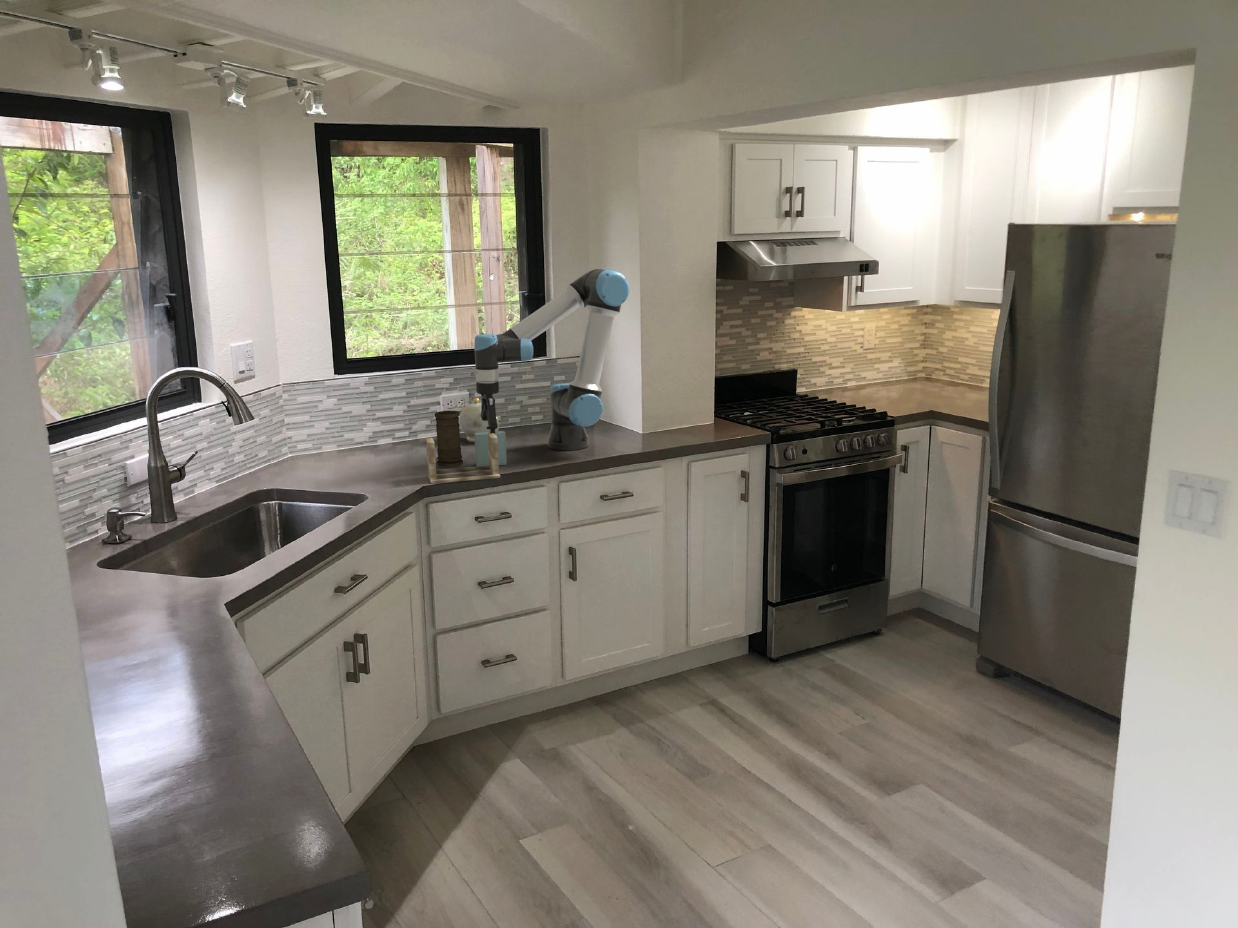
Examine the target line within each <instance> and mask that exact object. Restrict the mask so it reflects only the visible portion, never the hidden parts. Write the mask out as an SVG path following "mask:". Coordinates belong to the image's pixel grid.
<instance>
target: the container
mask: <svg viewBox="0 0 1238 928" xmlns="http://www.w3.org/2000/svg"><path fill="white" fill-rule="evenodd" d="M460 414H461V412H460V411H457V410H440V411H437V412H435V413H434V417H435V428H436V430H435V431H436V443H437V449H436V451H437V457H436V466H438V468H439V467H440V468H459V467H461V466H462V465H464V460H463V458H464V457H463V456H462V455H463V454H462V447H461V433H460V424H459V417H460Z"/></svg>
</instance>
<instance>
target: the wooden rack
mask: <svg viewBox="0 0 1238 928" xmlns="http://www.w3.org/2000/svg"><path fill="white" fill-rule="evenodd" d="M435 444H436V443H435V441H434V438H433V437H426V438H425V446H426V460H427V461H426V462H427V463H426V464H427V477H428V479H429V482H430V484H442V483H454V482H456V483H457V482H466V481H478V480H488V479H489V480H490V479H491V480H492V479H499V478H501V474H500V467H499V466H500V465H499V459H498V438H497V436H496V435H495V434H494V433H488V448H489V466H477V465H476V466H468V467H467V466H466V467H465V466H464V467H452V468H442V469H441V468H440V469H437V459H436V446H435Z"/></svg>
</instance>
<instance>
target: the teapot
mask: <svg viewBox="0 0 1238 928" xmlns="http://www.w3.org/2000/svg"><path fill="white" fill-rule="evenodd" d="M461 409H462V410H461V412H460V415H459V416H458V417H459V428H460V429H461V431H462V432H463V434H465V435H466V441H468V442H469V443H474V444H475V436H474V433H481V432H482V421H483V420H482V418H481V402H480V399H479V398H478V397H475V398H474V399H473V402H471V403H469V404H467V405H462V406H461ZM496 418H497V425H498V427H497V428H496V429H497V431H499V428H500V427H499V426H500V422H499V418H498V416H497V415H496Z"/></svg>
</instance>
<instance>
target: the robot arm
mask: <svg viewBox="0 0 1238 928" xmlns="http://www.w3.org/2000/svg"><path fill="white" fill-rule="evenodd" d="M629 294H630V283H629V281H628V280H627V278H626V277H625V275H624V274H622V273H620V271H616V270H613V269H612V270H611V269H601V268H595V269H591V270H589V271H587V272H585V273H584V274H582V275H581V276H580V277H578V278H577V279H575V280H573V282H571V283H570V284H568V285H567V286H566V290H565V291H563V292H562V293H560V294H558V295H557V296H556V297H554V298H552V299H551V300H549V302H547V303H545V304H544V305H543V306H541V307H540V308H538V309H537V310H535V311H534V312H533V313H530V314H529V315H528V316H527V317H525V318H524V319H522V320H520V321H519V322H517V323H516V324H515V325H513V326H512V327H510V328H509V329H507V330H506V331H505V332H503V333H498V334H493V333H488V334H487V333H484V334H483V333H482V334H478V335H476V336H475V337H474V347H473V350H474V361H475V363H474V364H475V371H474V373H473V375H474V376H475V381H477V382H476V384H475V387H476V393H477V394H478V395H481V402H480V403H481V418H482V420H483V421H482V432H488V433H494V434H495V435H496V436H497V429H496V428H497V427H498V425H497V418H498V417H497V418H496V416H497V412H496V411H497V409H496V399H495V398H494V397H493V395H494V394H495V395H496V394H498V393H500V383H499V379H500V377H499V374H500V372H499V370H500V369H499V364H500V363H501V364H502V363H514V362H515V363H516V362H519V363H520V362H522V363H523V362H528V361H531V360H532V359H533V357H534V345H533V342H532V341H533V340H534V339H535V338H537V337H539V336H540V335H541V334H543V333H545V332H546V331H547V330H548V329H550V328H552V327H553V326H554V325H556V324H557V323H559V322H561V321H562V320H564V319H565V318H566V317H568V316H569V315H571V314H572V313H574V312H575V311H576V310H578V309H579V310H582V309H584V308H587V309H588V311H589V314H588V318H587V322H586V326H585V327H586V328H585V330H584V331H585V332H584V337H583V340H582V346H581V349H580V350H581V351H580V356H579V358H578V365H577V369H576V374H575V378H574V380H572V381H570V382H569V383H566V382H565V383H557V384H556V383H555V384H553V385H551V387H550V394H549V395H550V411H551V413H550V415H551V428H550V431H549V434H548V437H547V448H548V449H551V450H555V451H556V450H558V451H575V450H576V451H577V450H582V449H586V448H588V447H589V445H590V439H589V436H588V434H587V430H586V428H585V427H590V426H593V425H595V424H596V423H598V421H599V420H600V419H601V417H602V415H603V413H604V405H603V401H602V400H601V397H602V392H603V389H602V387H601V385H600V382H601V377H602V373H603V369H604V365H605V363H604V362H605V359H606V355H607V350H608V346H609V340H610V336H611V333H612V327H613V322H614V319H615V317H616V316H618V315H619V314H620V312H621V308H622V305H623V304H624V303H625V302H626V301H627V299H628V297H629Z"/></svg>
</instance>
